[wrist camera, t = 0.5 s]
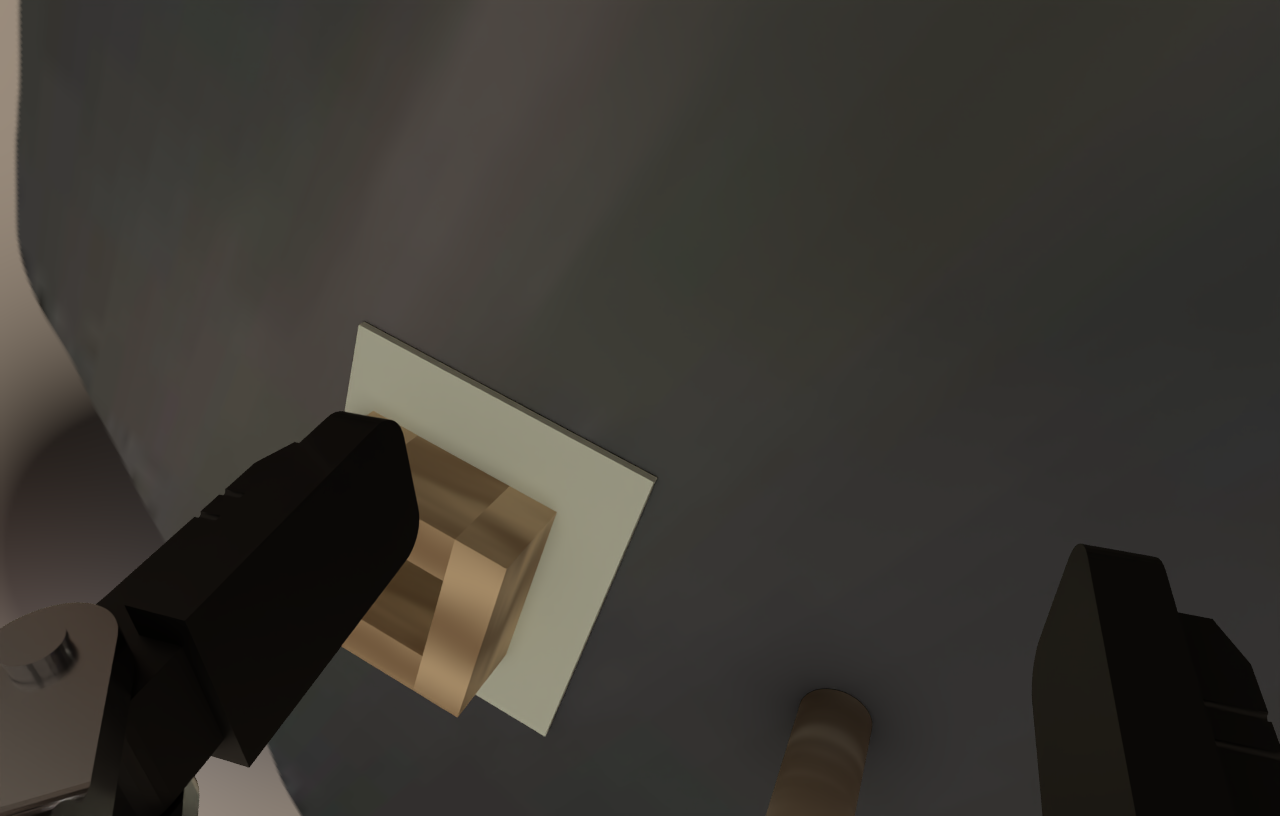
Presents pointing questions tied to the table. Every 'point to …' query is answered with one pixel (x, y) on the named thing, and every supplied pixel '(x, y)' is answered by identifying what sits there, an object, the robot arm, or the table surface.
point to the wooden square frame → (454, 580)
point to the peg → (823, 757)
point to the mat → (541, 469)
